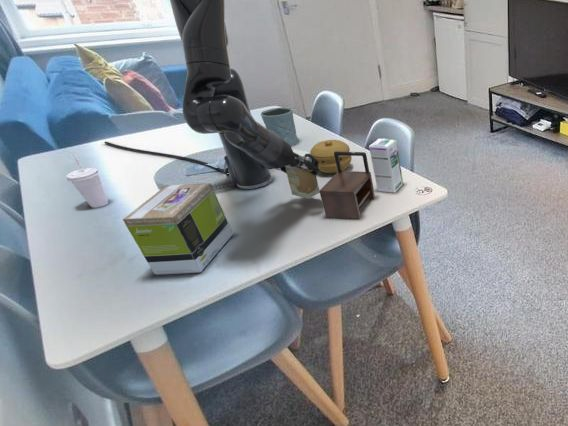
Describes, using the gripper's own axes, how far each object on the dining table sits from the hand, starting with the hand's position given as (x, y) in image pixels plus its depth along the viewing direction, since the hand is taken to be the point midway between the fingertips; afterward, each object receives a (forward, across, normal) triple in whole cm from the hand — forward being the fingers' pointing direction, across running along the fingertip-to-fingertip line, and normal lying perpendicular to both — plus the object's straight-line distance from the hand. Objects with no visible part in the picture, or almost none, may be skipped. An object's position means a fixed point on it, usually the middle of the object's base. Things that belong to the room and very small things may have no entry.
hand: (303, 171), depth 116 cm
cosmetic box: (+4, 0, +5) cm, 7 cm away
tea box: (-13, +14, +26) cm, 32 cm away
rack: (+4, -13, +8) cm, 16 cm away
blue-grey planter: (+35, +30, -22) cm, 51 cm away
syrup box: (+13, -20, 0) cm, 24 cm away
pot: (+20, +2, -8) cm, 22 cm away
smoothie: (+1, +57, +12) cm, 58 cm away
